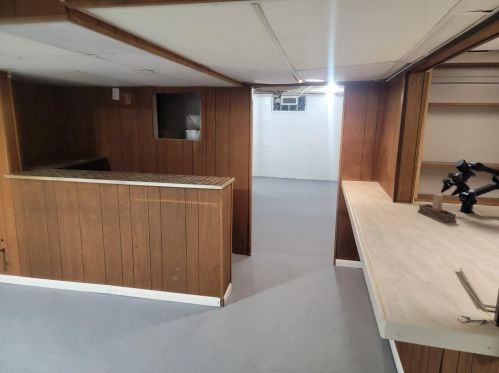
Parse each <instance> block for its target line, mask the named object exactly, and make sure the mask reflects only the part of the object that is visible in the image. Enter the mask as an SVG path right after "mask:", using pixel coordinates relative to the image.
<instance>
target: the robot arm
mask: <svg viewBox="0 0 499 373" xmlns="http://www.w3.org/2000/svg"><path fill="white" fill-rule="evenodd" d="M453 166H454V167H455V168H456V170H457V171H458V172H459V173H453V172H449V173H448V174H447V175H446V176H447V178H445V177H444V178H443V179H441V182H442V184H443V185H442V188H441V190H440V193H441V194H443V193H445V192H447V191H448V190H450V189H451V188H452V187H454V186H455V189H454V190H453V191H452V193H451V194H450V196H451V197H453V196H456V195H458V198H459V202H461V206H460V209H459V210H458V211H459V212H462V213H465V214H472V213H474V214H475V210H474V209H473V208H474V205H477V203H478V200H477V197H479V196H482V195H485V194H488V193H491V192H494V191H498V190H499V169H497V168H493V167H489V166H487V165H485V164H484V163H482V162H479V161H469V162H468V163H467V161H466V160H465V159H464V158H461V159H459V160H457V161H455V162H454V164H453ZM476 172H482V173H485V174H489V175H492V176H491V182H490V183H488V184H486V185H483V186H480V187H478V188H475V189H471V188H470V186H469V185H468V184H467V183H468V182H469V181H468V180H469V179H470V178H471V177H474V178H475V177H476Z"/></svg>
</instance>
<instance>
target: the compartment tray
mask: <svg viewBox="0 0 499 373" xmlns="http://www.w3.org/2000/svg"><path fill="white" fill-rule="evenodd" d="M432 205H433V204H430V203H428V204H427V203H426V204H424V203H423V204H419V208H418V210H417V213H419V214H421V215H424V216H426V217H428V218H430V219H432V220H434V221H437V222H439V223H442V224H447V223H450V224H451V223H457V219H456V213H453V212H451V211H448V210H445V209H443V208H442V210H441V211H436V210H433V209H432Z"/></svg>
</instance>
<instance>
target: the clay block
mask: <svg viewBox="0 0 499 373" xmlns="http://www.w3.org/2000/svg"><path fill="white" fill-rule="evenodd" d="M443 200H444V195H442V194H439V193H437V194H436V193H435V194H433V197H432V204H431V205H432V209H433V210H436V211H441V210H442V209H443Z"/></svg>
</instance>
